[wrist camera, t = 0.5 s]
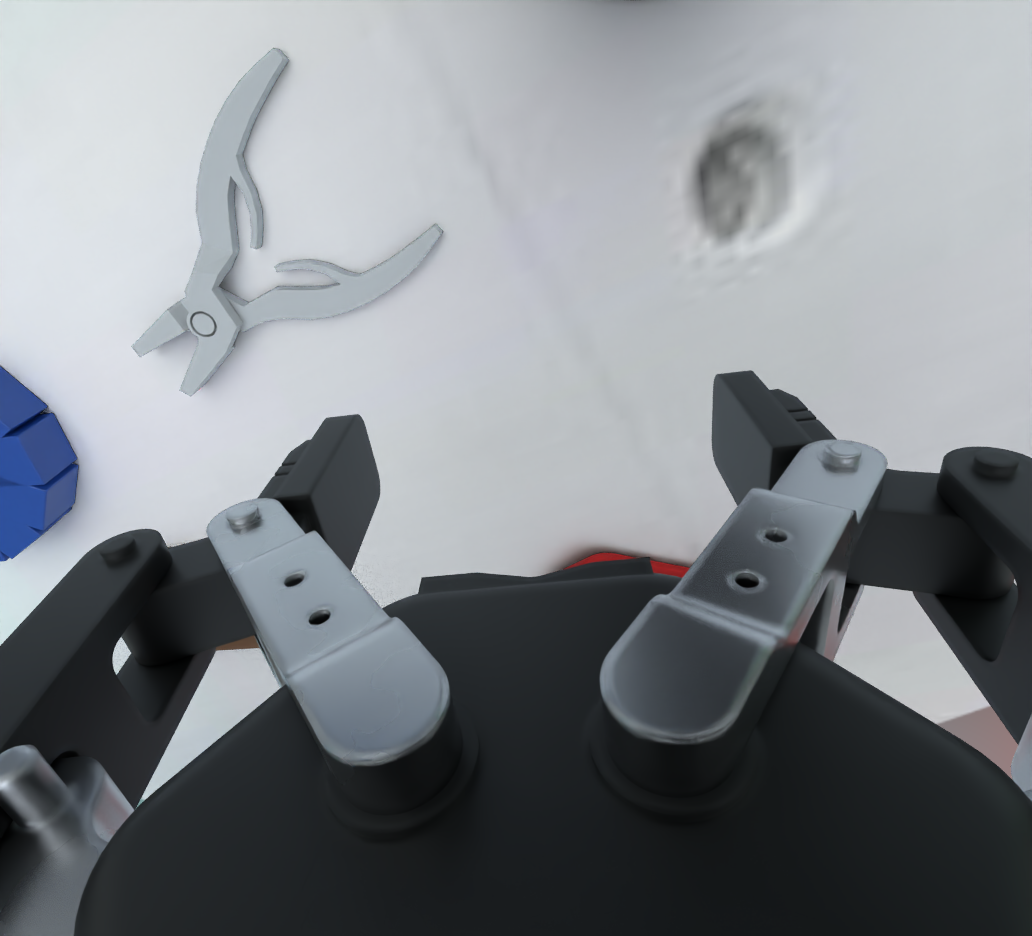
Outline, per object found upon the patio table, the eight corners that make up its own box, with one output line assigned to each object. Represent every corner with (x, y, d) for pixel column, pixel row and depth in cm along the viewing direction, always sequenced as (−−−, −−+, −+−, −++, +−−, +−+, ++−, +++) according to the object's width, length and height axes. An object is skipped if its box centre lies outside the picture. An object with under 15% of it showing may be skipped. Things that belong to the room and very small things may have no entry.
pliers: (443, 242, 27) (241, 440, 32) (446, 235, 29) (253, 427, 34) (260, 40, 24) (66, 299, 29) (274, 43, 25) (87, 291, 30)
